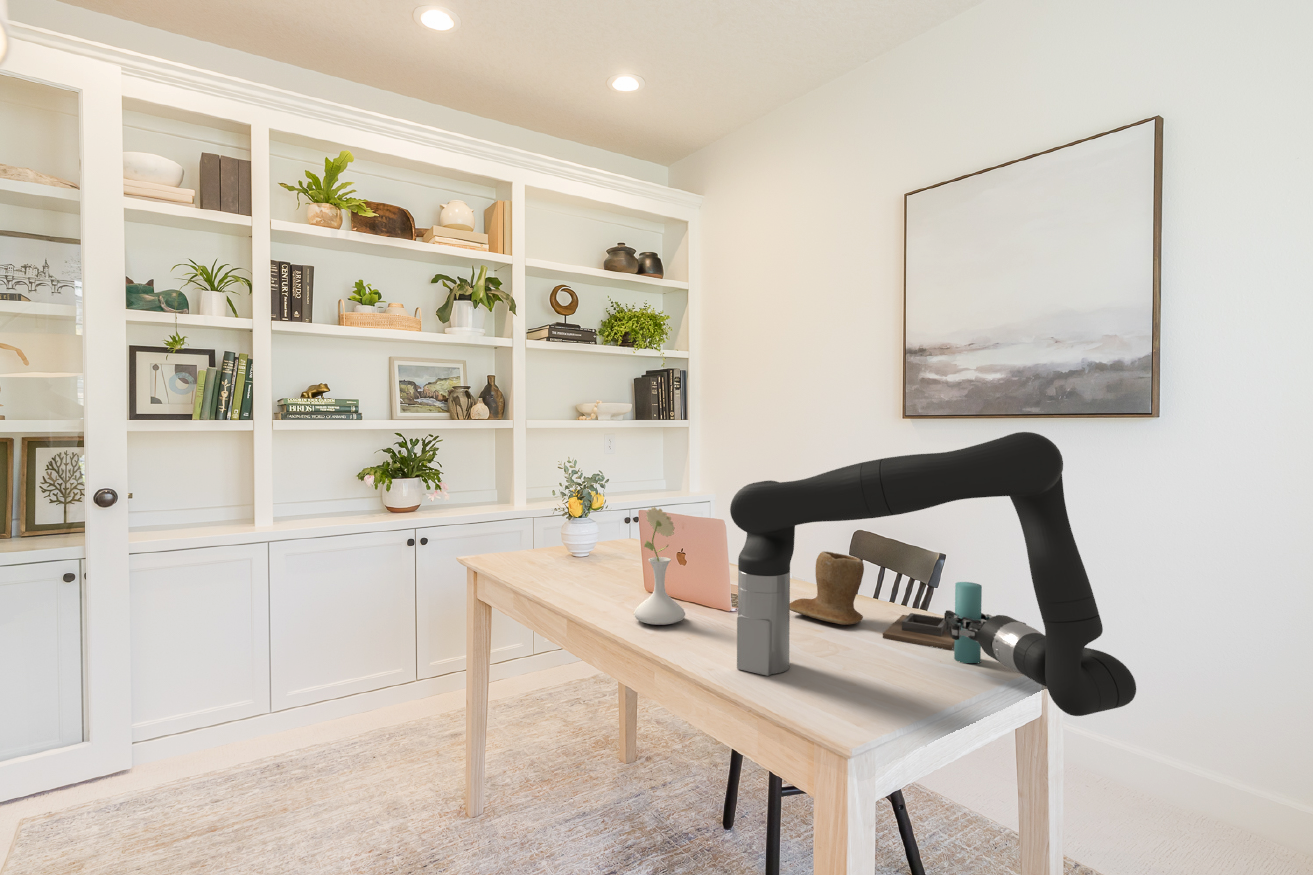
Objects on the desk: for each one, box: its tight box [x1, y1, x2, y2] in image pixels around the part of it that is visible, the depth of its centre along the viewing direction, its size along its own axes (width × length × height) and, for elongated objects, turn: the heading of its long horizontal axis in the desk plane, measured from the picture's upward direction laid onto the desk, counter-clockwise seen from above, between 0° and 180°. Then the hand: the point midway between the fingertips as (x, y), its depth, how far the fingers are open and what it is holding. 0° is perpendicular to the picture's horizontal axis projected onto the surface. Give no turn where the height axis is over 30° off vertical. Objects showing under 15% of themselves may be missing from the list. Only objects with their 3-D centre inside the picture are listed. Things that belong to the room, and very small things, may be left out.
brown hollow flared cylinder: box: [790, 551, 865, 625], centre depth 149 cm, size 15×12×15 cm
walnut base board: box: [882, 612, 955, 651], centre depth 138 cm, size 16×13×3 cm
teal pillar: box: [953, 581, 983, 664], centre depth 123 cm, size 4×4×14 cm
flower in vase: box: [633, 506, 686, 626], centre depth 147 cm, size 13×11×25 cm
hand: (959, 615), depth 126 cm, fingers closed on teal pillar, 4 cm apart
